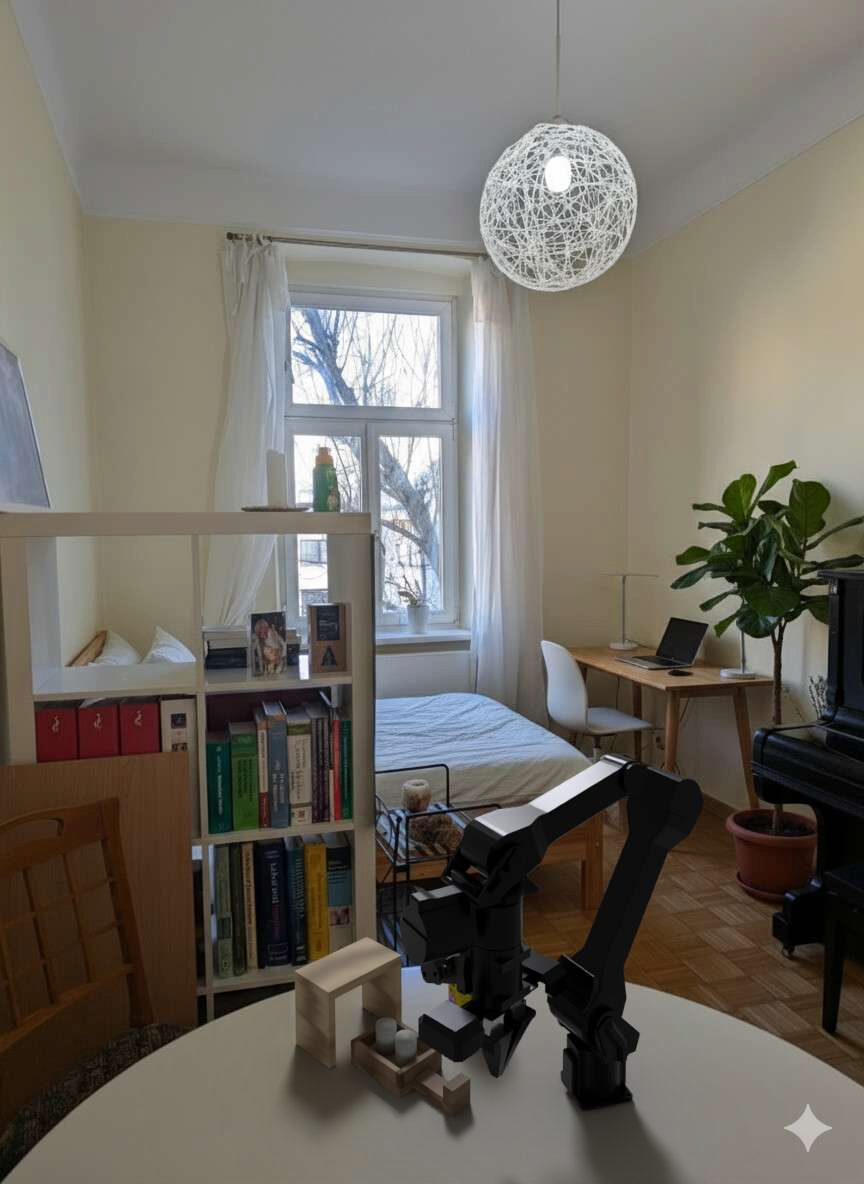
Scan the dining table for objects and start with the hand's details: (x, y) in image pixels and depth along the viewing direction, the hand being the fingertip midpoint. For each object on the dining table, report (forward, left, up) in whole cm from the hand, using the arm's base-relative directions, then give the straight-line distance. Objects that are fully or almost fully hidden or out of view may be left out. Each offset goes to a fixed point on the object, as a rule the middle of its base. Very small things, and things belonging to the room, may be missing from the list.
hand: (496, 1075), depth 87 cm
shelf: (+13, -22, -7) cm, 26 cm away
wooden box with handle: (+6, -11, -7) cm, 14 cm away
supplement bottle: (-5, -23, -7) cm, 24 cm away
